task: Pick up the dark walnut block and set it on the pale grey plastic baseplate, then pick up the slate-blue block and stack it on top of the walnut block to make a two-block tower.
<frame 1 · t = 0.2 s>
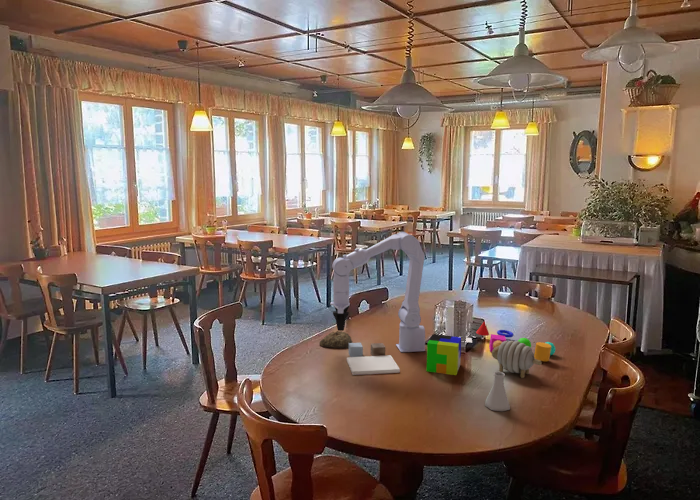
hand: (341, 327, 193), 10 cm above the table, tool pointing down, fingers open, 7 cm apart
puzzle toy: (443, 368, 181), on the table
toy sheep: (514, 374, 177), on the table
walnut block: (377, 355, 192), on the table
baseplate: (372, 366, 182), on the table
bread roll: (336, 344, 206), on the table
shape set: (505, 350, 199), on the table
slate block: (355, 355, 193), on the table
flask: (497, 407, 153), on the table
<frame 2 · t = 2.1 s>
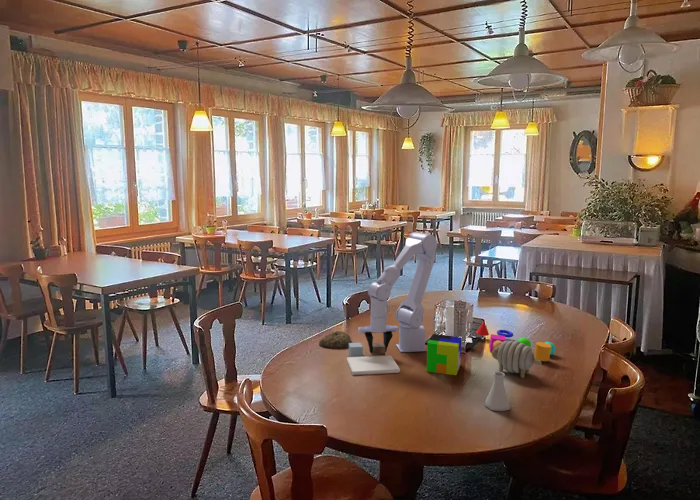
hand: (377, 351, 192), 1 cm above the table, tool pointing down, fingers closed on walnut block, 4 cm apart
walnut block: (377, 355, 192), on the table, touching gripper
everything else where it was.
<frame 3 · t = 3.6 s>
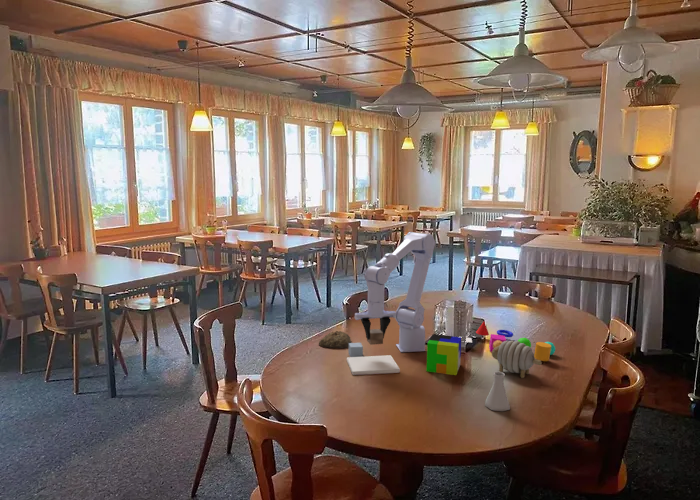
hand: (375, 338, 185), 9 cm above the table, tool pointing down, fingers closed on walnut block, 4 cm apart
walnut block: (374, 342, 186), point 7 cm above the table, touching gripper
everything else where it was.
when the fingers open (4 cm above the table, at t = 5.3 s): walnut block stays where it is, resting on baseplate.
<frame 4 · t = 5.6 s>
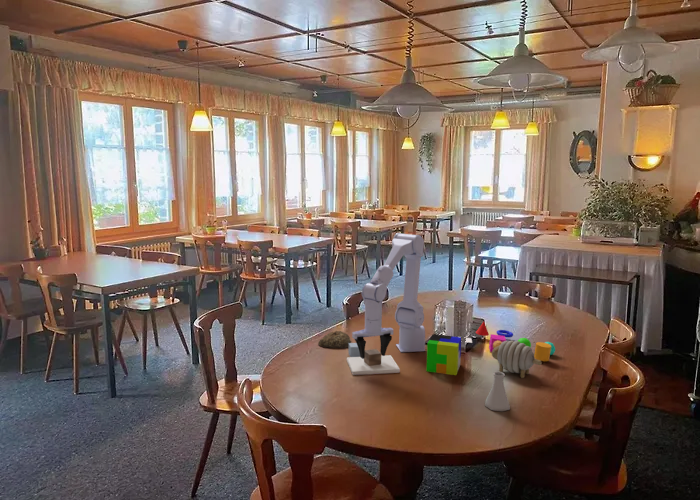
hand: (372, 356, 181), 4 cm above the table, tool pointing down, fingers open, 7 cm apart
walnut block: (372, 362, 182), point 1 cm above the table, touching baseplate
everything else where it was.
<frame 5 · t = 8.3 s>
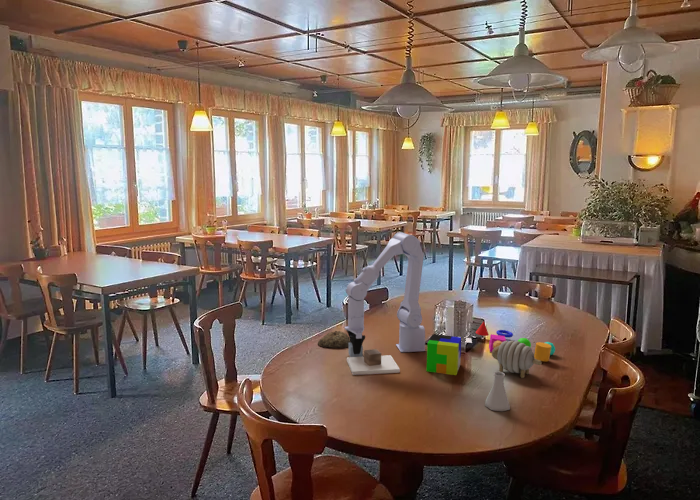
hand: (355, 351, 192), 1 cm above the table, tool pointing down, fingers closed on slate block, 4 cm apart
slate block: (355, 355, 193), on the table, touching gripper
everything else where it was.
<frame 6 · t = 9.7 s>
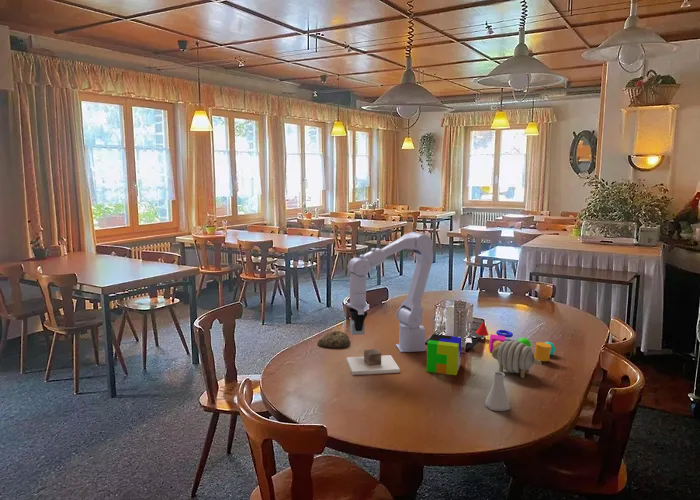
hand: (357, 328, 190), 10 cm above the table, tool pointing down, fingers closed on slate block, 4 cm apart
slate block: (357, 332, 190), point 9 cm above the table, touching gripper
everything else where it was.
when the fingers open (8 cm above the table, at t = 11.6 s): slate block stays where it is, resting on walnut block.
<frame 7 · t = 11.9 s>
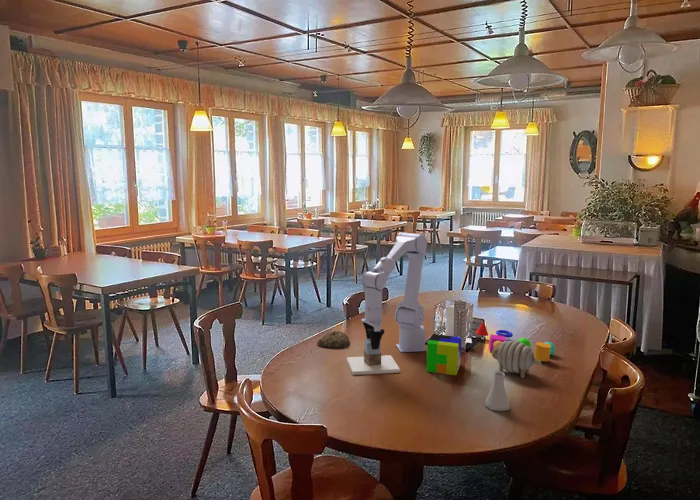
hand: (372, 345, 181), 8 cm above the table, tool pointing down, fingers open, 7 cm apart
walnut block: (372, 362, 182), point 1 cm above the table, touching baseplate, slate block
slate block: (372, 351, 181), point 5 cm above the table, touching walnut block
everything else where it was.
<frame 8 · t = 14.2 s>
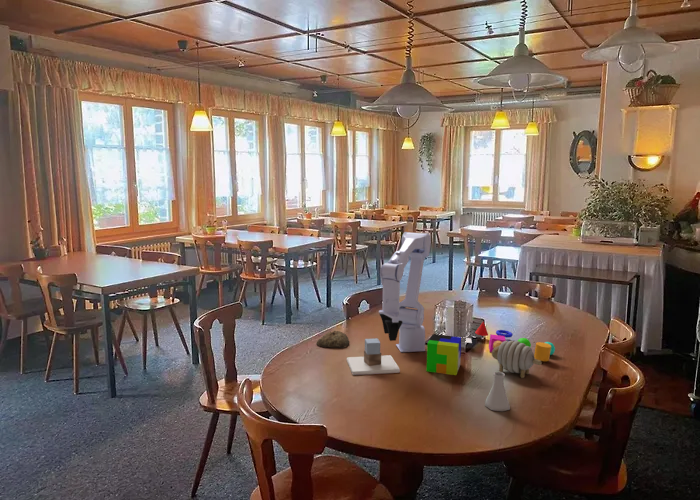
hand: (390, 336, 181), 10 cm above the table, tool pointing down, fingers open, 7 cm apart
at the end: walnut block 0.1 cm off-centre on the baseplate, point 1.2 cm above the baseplate's base; slate block 0.1 cm off-centre on the walnut block, point 4.0 cm above the walnut block's base; slate block tilted 0° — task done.
